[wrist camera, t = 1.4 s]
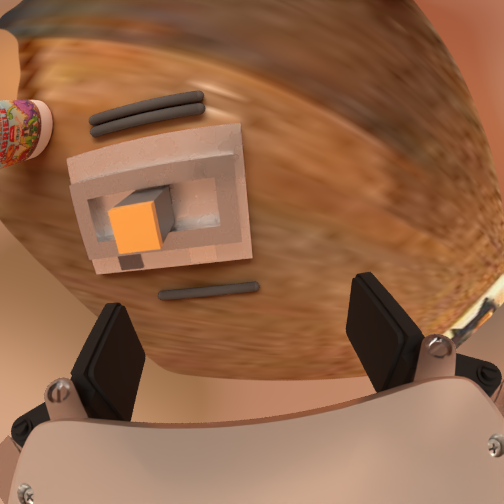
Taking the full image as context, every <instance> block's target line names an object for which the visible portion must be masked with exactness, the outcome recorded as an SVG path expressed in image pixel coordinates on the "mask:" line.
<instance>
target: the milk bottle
mask: <svg viewBox="0 0 504 504" xmlns="http://www.w3.org/2000/svg"><path fill="white" fill-rule="evenodd" d="M52 127H53V120H52V115H51V111H50V110H49V108H48V106H47V105H46V104H45V103H43V102H42V101H39V100H4V101H0V169H1V168H4V167H7V166H10V165H13V164H16V163H19V162H22V161H25V160H28V159H31V158H34V157H36V156H38V155H39V154H40V153H41V152H42V151H43V150H44V149H45V147H46V146H47V144H48V142H49V140H50V137H51V133H52Z"/></svg>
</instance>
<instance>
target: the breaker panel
mask: <svg viewBox="0 0 504 504" xmlns="http://www.w3.org/2000/svg"><path fill="white" fill-rule="evenodd" d="M67 164H68V170H69V175H70V181H71V185H69V188H70V192H71V197H72V201H73V205H74V209H75V213H76V217H77V221H78V224H79V228H80V232H81V235H82V238H83V242H84V245H85V248H86V251H87V254H88V257H89V260H92V262H93V265H94V268H95V271H96V274H106V273H116V272H126V271H136V270H145V269H155V268H164V267H174V266H183V265H193V264H202V263H211V262H221V261H230V260H239V259H248V258H253V257H252V246H251V235H250V224H249V213H248V202H247V191H246V180H245V168H244V157H243V146H242V135H241V124H240V123H236V124H226V125H217V126H209V127H202V128H195V129H188V130H182V131H176V132H170V133H165V134H159V135H154V136H150V137H145V138H140V139H136V140H131V141H127V142H123V143H119V144H115V145H111V146H107V147H104V148H100V149H96V150H93V151H90V152H86V153H83V154H80V155H77V156H73V157H70V158H67ZM163 186H169V192H170V198H171V204H172V209H173V215H174V220H175V222H174V224H173V226H172V228H171V230H170V231H169V233H168V235H167V237H166V239H165V241H164V243H163V245H162V247H161V249H157V250H149V251H140V252H132V253H124V254H119V251H118V247H117V244H116V240H115V237H114V233H113V229H112V225H111V221H110V217H109V213H108V211H109V210H110V209H112V208H113V207H114V206H115V205H117V204H118V203H119V202H121V201H122V200H123V199H124V198H126V197H127V196H128V195H130V194H131V193H132V192H134V191H140V190H145V189H151V188H157V187H163Z"/></svg>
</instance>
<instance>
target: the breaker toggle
mask: <svg viewBox="0 0 504 504" xmlns="http://www.w3.org/2000/svg"><path fill="white" fill-rule="evenodd" d="M108 213H109V217H110V221H111V225H112V229H113V233H114V237H115V240H116V244H117V247H118V251H119V254H124V253H132V252H140V251H149V250H157V249H161V247H162V245H163V243H164V241H165V239H166V237H167V235H168V233H169V231H170V230H171V228H172V226H173V224H174V222H175V220H174V215H173V209H172V204H171V198H170V192H169V186H163V187H157V188H151V189H145V190H140V191H134V192H132V193H131V194H130V195H128V196H127V197H126V198H124V199H123V200H122V201H121V202H119V203H118V204H117V205H115V206H114V207H113V208H112V209H110V210H109V211H108Z"/></svg>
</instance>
